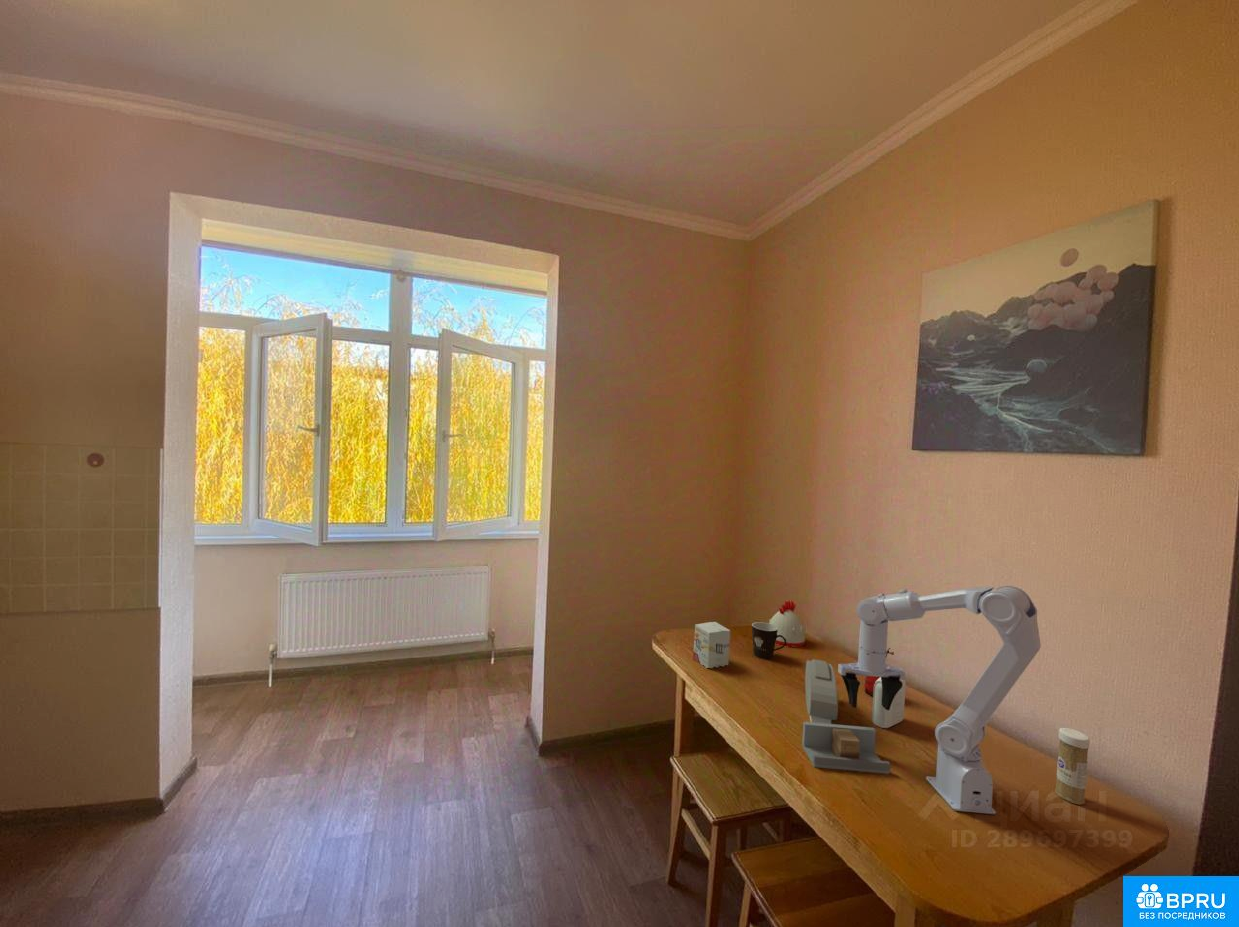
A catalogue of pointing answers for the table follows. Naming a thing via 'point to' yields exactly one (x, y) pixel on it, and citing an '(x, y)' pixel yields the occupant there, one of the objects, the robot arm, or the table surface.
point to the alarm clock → (821, 692)
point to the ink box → (711, 644)
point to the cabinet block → (845, 744)
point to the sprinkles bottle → (1072, 765)
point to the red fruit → (872, 680)
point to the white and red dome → (788, 626)
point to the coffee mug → (765, 639)
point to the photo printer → (896, 711)
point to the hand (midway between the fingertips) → (869, 706)
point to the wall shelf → (821, 756)
